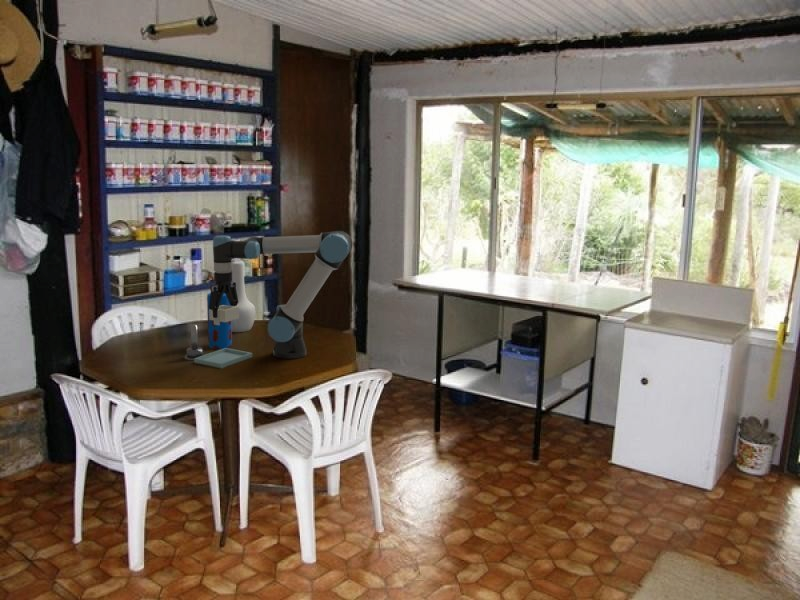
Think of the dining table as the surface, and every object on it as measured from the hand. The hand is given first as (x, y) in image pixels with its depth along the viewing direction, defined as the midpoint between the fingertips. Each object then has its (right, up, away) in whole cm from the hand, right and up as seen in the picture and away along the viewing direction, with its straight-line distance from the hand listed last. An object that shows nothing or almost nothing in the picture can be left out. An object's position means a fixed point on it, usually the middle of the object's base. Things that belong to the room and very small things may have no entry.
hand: (224, 322), depth 311 cm
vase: (-7, -6, +57) cm, 58 cm away
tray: (-1, -17, +4) cm, 17 cm away
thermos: (-9, -12, +26) cm, 30 cm away
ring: (0, +2, 0) cm, 2 cm away
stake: (-15, -16, +6) cm, 23 cm away
